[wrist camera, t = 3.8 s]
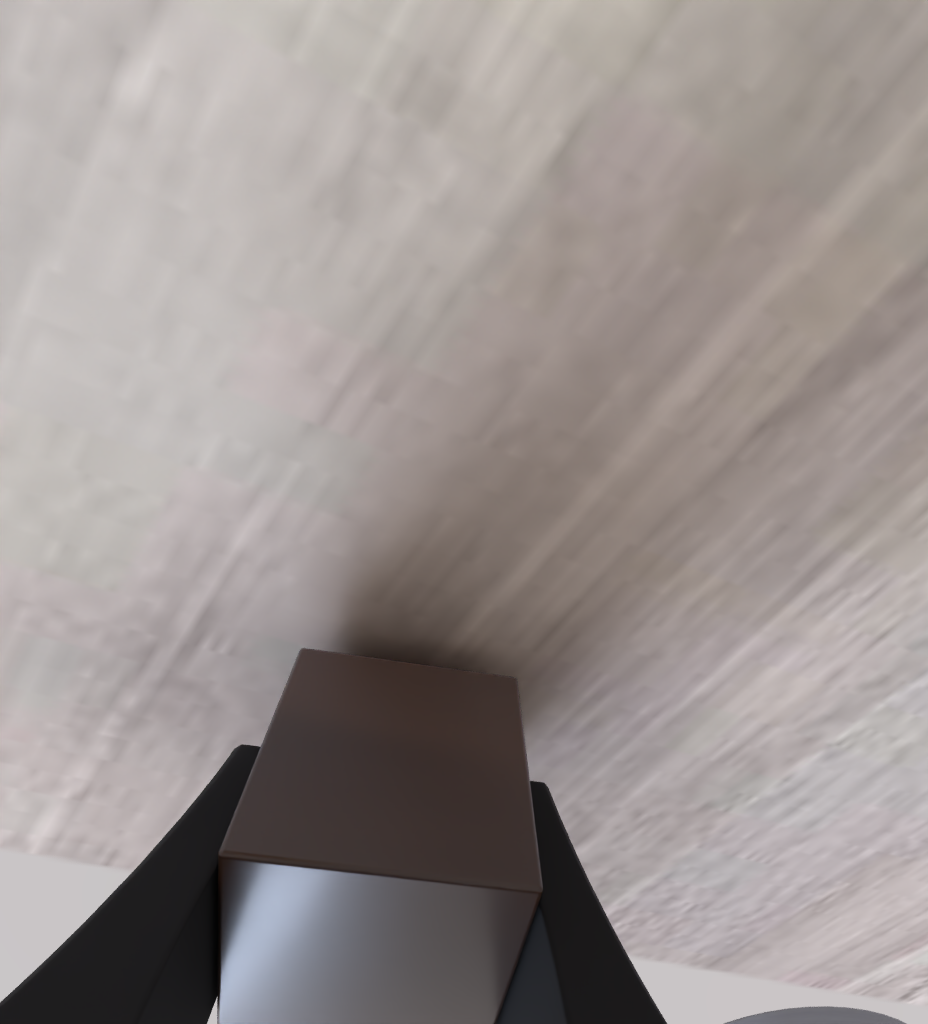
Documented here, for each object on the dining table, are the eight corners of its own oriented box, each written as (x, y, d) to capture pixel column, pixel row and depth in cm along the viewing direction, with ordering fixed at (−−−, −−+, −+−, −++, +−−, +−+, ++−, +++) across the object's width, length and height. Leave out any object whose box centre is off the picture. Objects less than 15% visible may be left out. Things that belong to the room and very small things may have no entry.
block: (478, 824, 13) (485, 1060, 9) (288, 801, 12) (215, 1035, 9) (518, 676, 11) (546, 892, 7) (300, 646, 11) (215, 854, 7)
